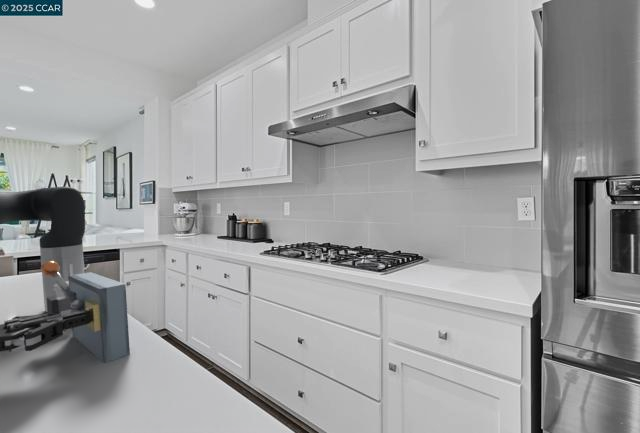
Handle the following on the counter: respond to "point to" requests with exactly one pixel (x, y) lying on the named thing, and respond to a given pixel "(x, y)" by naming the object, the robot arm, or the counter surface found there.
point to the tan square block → (93, 315)
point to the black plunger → (57, 304)
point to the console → (103, 315)
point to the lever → (61, 283)
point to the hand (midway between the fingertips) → (89, 316)
